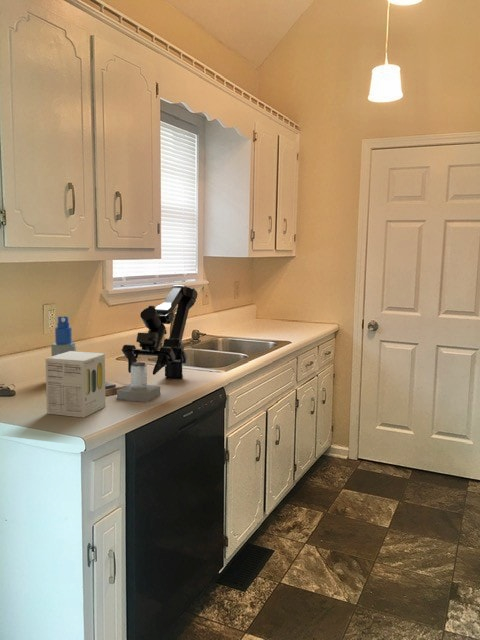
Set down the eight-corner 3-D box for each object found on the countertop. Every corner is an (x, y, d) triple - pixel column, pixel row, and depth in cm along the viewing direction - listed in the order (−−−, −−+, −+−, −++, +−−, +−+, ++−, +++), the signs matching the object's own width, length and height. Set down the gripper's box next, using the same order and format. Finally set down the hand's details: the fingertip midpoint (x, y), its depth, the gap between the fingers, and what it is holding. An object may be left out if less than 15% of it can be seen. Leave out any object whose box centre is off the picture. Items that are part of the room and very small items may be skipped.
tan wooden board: (116, 386, 199) (116, 378, 198) (130, 390, 193) (130, 382, 193) (88, 392, 190) (88, 384, 189) (101, 396, 184) (101, 388, 184)
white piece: (136, 386, 187) (136, 361, 186) (146, 387, 186) (146, 362, 185) (131, 389, 183) (130, 363, 182) (141, 390, 182) (141, 364, 181)
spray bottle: (76, 382, 204) (75, 317, 201) (51, 383, 201) (49, 317, 198) (76, 377, 212) (75, 314, 209) (52, 378, 210) (51, 315, 207)
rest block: (132, 391, 192) (132, 383, 191) (160, 394, 189) (160, 385, 188) (116, 399, 181) (116, 390, 181) (146, 402, 178) (146, 393, 178)
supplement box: (84, 418, 160) (82, 360, 158) (45, 414, 164) (44, 357, 162) (106, 406, 173) (105, 353, 171) (70, 402, 176) (69, 350, 174)
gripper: (123, 322, 191) (108, 358, 182) (172, 324, 186) (158, 362, 177) (134, 340, 200) (120, 375, 191) (180, 343, 195) (168, 380, 186)
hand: (141, 373), depth 186 cm, fingers open, 9 cm apart
